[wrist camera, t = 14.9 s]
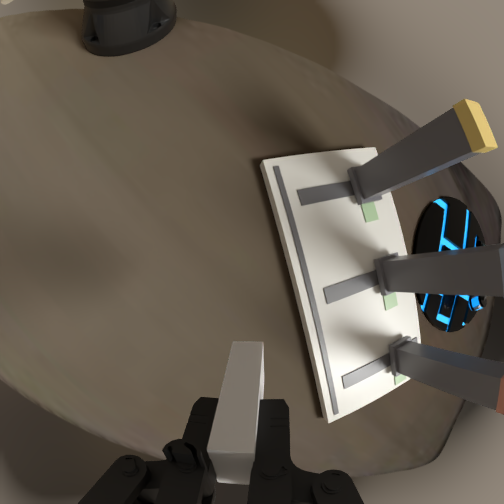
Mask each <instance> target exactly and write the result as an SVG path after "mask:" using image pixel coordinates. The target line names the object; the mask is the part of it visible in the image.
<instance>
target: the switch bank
mask: <svg viewBox="0 0 504 504" xmlns="http://www.w3.org/2000/svg"><path fill="white" fill-rule="evenodd" d="M377 155H378V154H377V151H376V148H375V147H372V148H358V149H346V150H336V151H326V152H317V153H309V154H301V155H294V156H286V157H280V158H273V159H267V160H263V161H262V162H261V164H260V168H261V172H262V175H263V179H264V182H265V186H266V189H267V193H268V196H269V200H270V203H271V207H272V210H273V214H274V218H275V221H276V225H277V228H278V232H279V236H280V239H281V243H282V247H283V251H284V254H285V258H286V262H287V266H288V270H289V274H290V277H291V281H292V285H293V289H294V293H295V297H296V301H297V305H298V309H299V313H300V317H301V321H302V326H303V330H304V334H305V338H306V342H307V346H308V351H309V355H310V359H311V364H312V368H313V373H314V377H315V381H316V386H317V391H318V395H319V400H320V404H321V409H322V414H323V418H324V419H325V420H326V421H327V422H328V423H330V422H333V421H335V420H337V419H339V418H341V417H343V416H345V415H347V414H349V413H351V412H353V411H355V410H357V409H359V408H361V407H363V406H365V405H367V404H369V403H370V402H372V401H374V400H376V399H378V398H379V397H381V396H383V395H385V394H386V393H388V392H390V391H391V390H393V389H395V388H396V387H398V386H400V385H401V384H403V383H404V382H406V381H408V380H409V379H411V378H409V377H407V376H405V375H402V374H400V375H399V376H397V377H396V376H393V375H392V372H391V363H390V354H389V346H388V345H390V344H392V343H394V342H396V341H397V340H399V339H401V338H403V337H405V336H410V337H411V340H412V342H416V343H420V344H421V340H420V330H419V322H418V314H417V307H416V300H415V293H405V292H394V293H391V294H389V295H387V296H382V295H381V292H380V287H379V282H378V277H377V273H376V268H375V264H374V259H377V258H380V257H383V256H385V255H388V254H391V253H396V252H398V256H404V255H407V252H406V247H405V243H404V239H403V235H402V231H401V227H400V223H399V219H398V216H397V212H396V209H395V205H394V202H393V198H392V195H391V192H388V193H386V194H384V195H381V196H382V200H379V201H375V202H371V203H366V204H361V205H358V204H357V200H356V197H355V194H354V190H353V187H352V184H351V181H350V178H349V175H348V172H347V170H348V169H349V168H350V167H356V166H362V165H363V164H365V163H366V162H368V161H370V160H371V159H373V158H374V157H376V156H377Z"/></svg>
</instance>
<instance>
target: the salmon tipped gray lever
mask: <svg viewBox="0 0 504 504" xmlns="http://www.w3.org/2000/svg"><path fill="white" fill-rule="evenodd" d="M388 346H389V354H390V363H391V372H392V375H393V376H396V377H397V376H399V375H400V374H402V375H405V376H407V377H409V378H412V379H414V380H417V381H419V382H422V383H424V384H427V385H429V386H432V387H434V388H437V389H439V390H442V391H444V392H447V393H450V394H452V395H455V396H457V397H460V398H463V399H465V400H468V401H471V402H474V403H477V404H479V405H482V406H485V407H488V408H491V409H494V410H496V412H498V413H501V414H503V415H504V363H501V362H496V361H492V360H487V359H483V358H478V357H474V356H469V355H465V354H461V353H456V352H452V351H448V350H444V349H440V348H436V347H432V346H428V345H424V344H420V343H416V342H412V340H411V337H410V336H405V337H403V338H401V339H399V340H397V341H396V342H394V343H392V344H390V345H388Z"/></svg>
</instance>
